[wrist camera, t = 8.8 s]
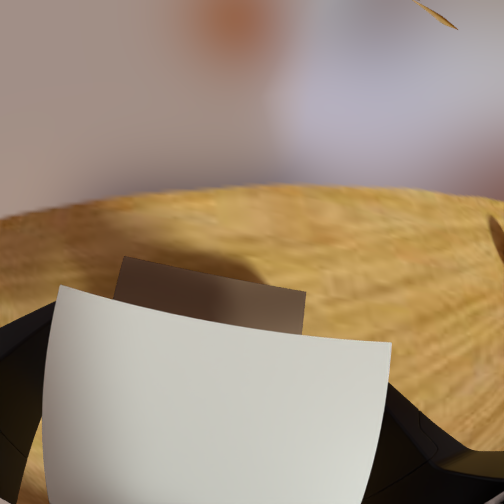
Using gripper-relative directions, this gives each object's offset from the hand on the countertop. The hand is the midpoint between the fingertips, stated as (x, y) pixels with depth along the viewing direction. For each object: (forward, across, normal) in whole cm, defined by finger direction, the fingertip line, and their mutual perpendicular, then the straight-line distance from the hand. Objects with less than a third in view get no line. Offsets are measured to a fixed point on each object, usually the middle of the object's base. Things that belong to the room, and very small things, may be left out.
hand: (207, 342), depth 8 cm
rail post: (+5, 0, +7) cm, 8 cm away
